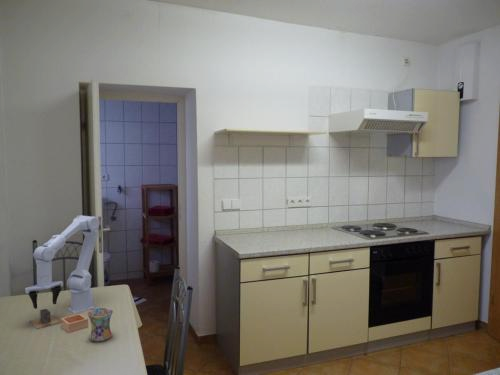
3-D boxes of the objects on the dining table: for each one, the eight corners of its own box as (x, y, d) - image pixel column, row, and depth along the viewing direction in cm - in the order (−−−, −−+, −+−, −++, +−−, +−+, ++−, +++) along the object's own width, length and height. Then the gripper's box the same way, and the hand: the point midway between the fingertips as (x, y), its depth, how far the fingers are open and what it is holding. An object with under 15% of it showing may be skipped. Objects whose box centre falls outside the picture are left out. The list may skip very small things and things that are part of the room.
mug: (115, 339, 157) (115, 313, 156) (90, 345, 152) (90, 318, 151) (108, 328, 167) (108, 303, 166) (84, 333, 162) (84, 308, 161)
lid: (53, 315, 178) (53, 305, 178) (62, 322, 171) (61, 311, 171) (28, 322, 171) (28, 310, 171) (37, 329, 164) (36, 317, 164)
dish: (80, 322, 173) (79, 313, 172) (88, 328, 167) (87, 318, 167) (60, 327, 167) (60, 318, 167) (68, 334, 161) (68, 324, 161)
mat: (54, 316, 179) (54, 315, 179) (63, 323, 171) (63, 322, 171) (27, 323, 171) (27, 322, 171) (36, 331, 163) (36, 330, 163)
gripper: (28, 280, 162) (29, 312, 163) (65, 273, 172) (66, 304, 173) (23, 276, 166) (24, 308, 167) (59, 269, 177) (59, 299, 178)
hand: (45, 305), depth 170 cm, fingers open, 7 cm apart
